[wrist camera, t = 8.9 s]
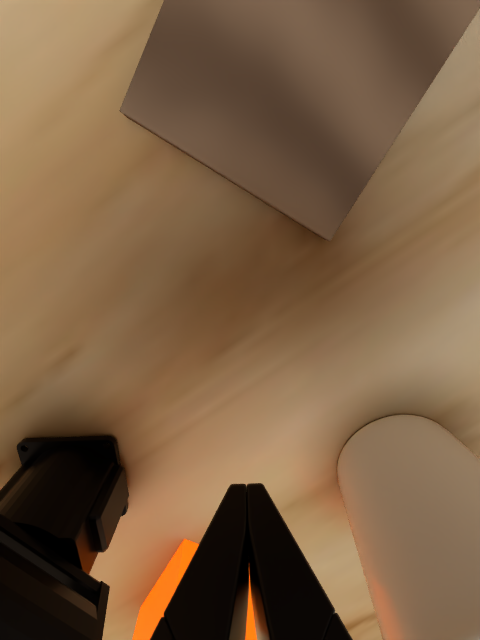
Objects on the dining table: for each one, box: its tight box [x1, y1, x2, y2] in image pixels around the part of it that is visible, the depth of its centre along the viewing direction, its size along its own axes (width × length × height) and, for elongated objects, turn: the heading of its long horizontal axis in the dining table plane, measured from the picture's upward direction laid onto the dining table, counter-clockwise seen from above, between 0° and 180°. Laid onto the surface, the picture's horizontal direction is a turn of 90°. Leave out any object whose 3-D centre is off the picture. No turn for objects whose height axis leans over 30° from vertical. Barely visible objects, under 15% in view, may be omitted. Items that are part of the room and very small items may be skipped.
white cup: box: [337, 415, 480, 640], centre depth 17 cm, size 10×10×12 cm
